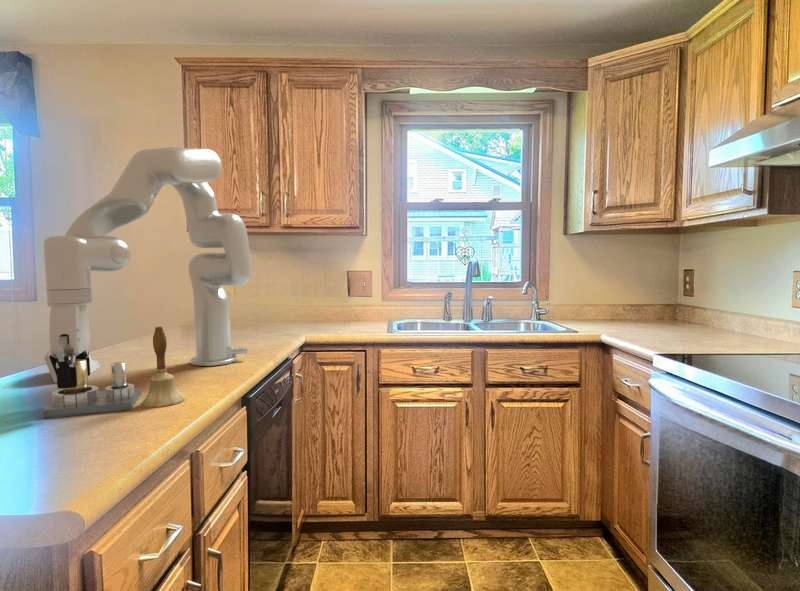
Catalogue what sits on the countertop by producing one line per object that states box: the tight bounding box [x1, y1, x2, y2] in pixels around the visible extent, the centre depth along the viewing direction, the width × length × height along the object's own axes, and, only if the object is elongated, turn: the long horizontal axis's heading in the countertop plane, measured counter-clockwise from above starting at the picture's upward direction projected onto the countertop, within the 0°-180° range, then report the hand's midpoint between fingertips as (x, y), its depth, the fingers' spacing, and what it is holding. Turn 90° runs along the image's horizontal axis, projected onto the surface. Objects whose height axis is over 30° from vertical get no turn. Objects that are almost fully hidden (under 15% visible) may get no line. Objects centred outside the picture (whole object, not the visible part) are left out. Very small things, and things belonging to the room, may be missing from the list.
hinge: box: [44, 349, 101, 384], centre depth 130 cm, size 17×5×10 cm, turn 13°
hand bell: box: [141, 326, 186, 408], centre depth 105 cm, size 8×8×16 cm
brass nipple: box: [63, 359, 89, 394], centre depth 102 cm, size 4×4×8 cm
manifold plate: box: [42, 361, 142, 419], centre depth 103 cm, size 15×12×8 cm
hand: (74, 381), depth 102 cm, fingers open, 9 cm apart
